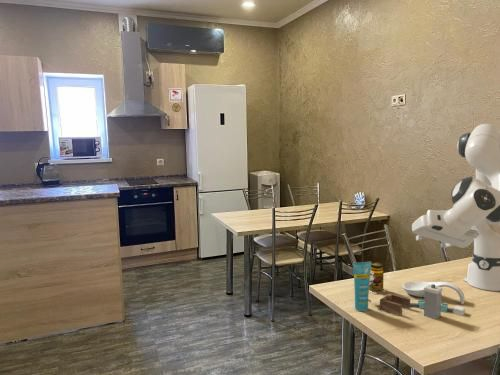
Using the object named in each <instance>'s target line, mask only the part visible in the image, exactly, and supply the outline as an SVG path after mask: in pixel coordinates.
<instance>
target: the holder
mask: <svg viewBox="0 0 500 375" xmlns="http://www.w3.org/2000/svg"><path fill="white" fill-rule="evenodd" d="M410 303H411V298H409V297H405V296H402V295H399V294H395V293H391V292H390V293H388V294H387V295H385V296H383V297H382V298H380V299H379V310H380V311H385V312H386V313H391V314H393V315H397V316H402V314H403V313H402V312H403V311H402V309H406V310H410V309H411V307H410Z"/></svg>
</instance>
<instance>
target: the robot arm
mask: <svg viewBox="0 0 500 375" xmlns="http://www.w3.org/2000/svg"><path fill="white" fill-rule="evenodd" d="M456 148H457V152H458V154H459V156H460V157H461V158H465V159H466V161H467V163H468V164H469V165H470V166H471V167H472V168H473V169H475V177H473V176H467V177H464V178H462V179H460V180H459V181H458V182H457V183H456V184H455V185H454V186H453V188H452V190H451V192H450V195H451V196H450V197H451V202H452V204H453V206H452V208H450V209H445V210H444V209H443V210H442V209H440V210H439V209H438V210H437V209H428V210H427V211H426V214H423V215H421V216H419V217H418V218H416V220H414V222H412V224H411V232H412V233H413V234H415V235H416V236H415V241H417V242H421V241H422V240H423V237H424V238H428V239H431V240H435V241H438V242H440V244H439V245H440V248H441V249H447V248H449V247H458V248H461V249H463V248H465V249H466V248H468V247H469V246H470V245H471V244H472V243H473V252H472V255H471V256H472V257H471V258H472V261H471V262H469V264H468V265H467V266H468V268H467V276H465V277H463V281H464V282H467V284H469V285H470V286H472V287H474V288H475V289H480V290H484V291H491V292H492V291H493V292H500V234H499V233H497V232H495V231H493V230H492V229H491V227H490V226H489V225H493V226H498V227H499V226H500V130H499V128H498V127H497V126H496V125H494V124H491V123H482V124H479V125H477V126H475V128H474V129H473V130H472V131H471V132H466V133H464V134H462V135H461V136H460V137H459V138H458V141H457V144H456Z"/></svg>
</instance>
